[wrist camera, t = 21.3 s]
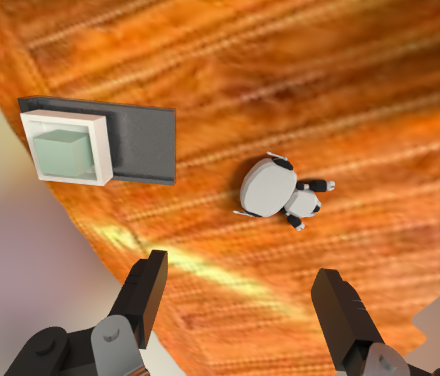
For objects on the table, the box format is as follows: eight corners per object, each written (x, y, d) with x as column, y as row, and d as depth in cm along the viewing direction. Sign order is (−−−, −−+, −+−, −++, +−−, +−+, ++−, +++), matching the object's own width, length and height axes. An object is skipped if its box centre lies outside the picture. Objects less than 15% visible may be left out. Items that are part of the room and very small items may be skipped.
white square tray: (47, 107, 37) (19, 113, 32) (111, 113, 37) (93, 120, 32) (61, 166, 42) (39, 179, 37) (118, 172, 42) (103, 185, 37)
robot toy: (332, 174, 43) (259, 142, 39) (344, 186, 39) (265, 151, 35) (295, 224, 48) (228, 199, 45) (303, 239, 44) (230, 213, 41)
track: (37, 95, 37) (17, 98, 34) (176, 108, 37) (170, 113, 34) (56, 170, 43) (41, 179, 40) (175, 182, 43) (170, 192, 40)
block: (57, 129, 35) (32, 138, 31) (91, 133, 36) (71, 143, 31) (63, 160, 38) (41, 172, 33) (95, 164, 38) (76, 177, 33)
